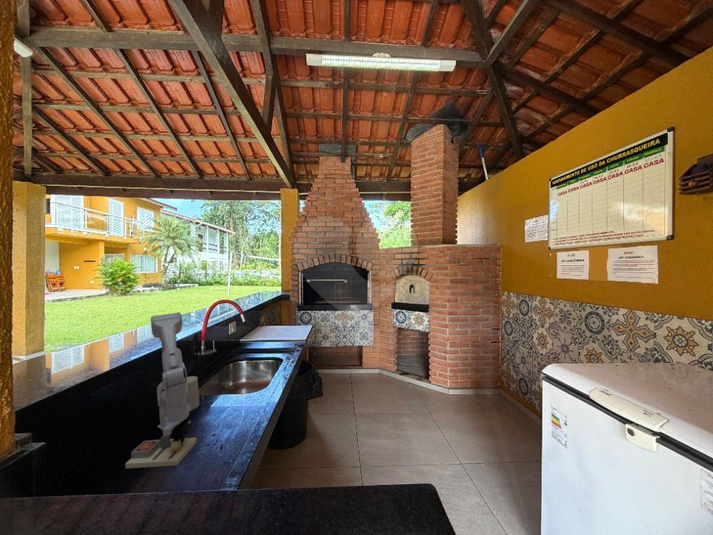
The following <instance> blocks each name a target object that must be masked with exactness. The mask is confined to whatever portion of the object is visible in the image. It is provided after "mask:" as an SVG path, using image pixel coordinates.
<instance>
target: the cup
mask: <svg viewBox="0 0 713 535" xmlns="http://www.w3.org/2000/svg"><path fill="white" fill-rule="evenodd" d="M184 379H185V378H184ZM187 387H188V398H187V405H190V404H191V410H190V411H189V412H191V411H193V410H195V409H197V408H198V407H199V406H200V393H199V381H198V376H195V375H194V376H193V375H191V376H187Z"/></svg>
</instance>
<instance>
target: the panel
mask: <svg viewBox="0 0 713 535" xmlns="http://www.w3.org/2000/svg"><path fill="white" fill-rule="evenodd" d="M173 439H174V438H170V440H171V441H172V440H173ZM147 442H153V446H152V447H151V448H150V449H149V450H145V451H140V446H141V445H143V444H144V443H147ZM197 442H198V438H197V437H185V439H184V442H183V443H181V446H182V449H181V450H180V451H179V452H170V450H171V445H170V446H169V448H160V446H161V439H150V440H143V441H142V442H141V443H140V444H139V445H138V446H137V447H135V448H134V449H133V450H132V451H131V452H130V455H131V456H130V459H129V460H128V461H126V463H125V464H124V465H125V469H138V468H139V469H140V468H141V469H142V468H157V467H169V466H172V467H173V466H178V465H179V464H180V462H182V460H183V459H184V458H185V457H186V455H187V454H188V453H189V452H190V451H191V449H192V448H193V447H194V446H195V445H196V443H197Z"/></svg>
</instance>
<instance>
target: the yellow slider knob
mask: <svg viewBox="0 0 713 535" xmlns="http://www.w3.org/2000/svg"><path fill="white" fill-rule="evenodd" d="M172 439H173V440H172V441H171V450H170V452H179V451H180V450H181V449H182V446H181V439H174V438H172Z"/></svg>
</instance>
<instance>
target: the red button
mask: <svg viewBox="0 0 713 535" xmlns="http://www.w3.org/2000/svg"><path fill="white" fill-rule="evenodd" d="M152 446H153V442H147V443H144V444H143V445H141V446H140V451H145V450H149V449H150V448H151V447H152Z"/></svg>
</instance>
